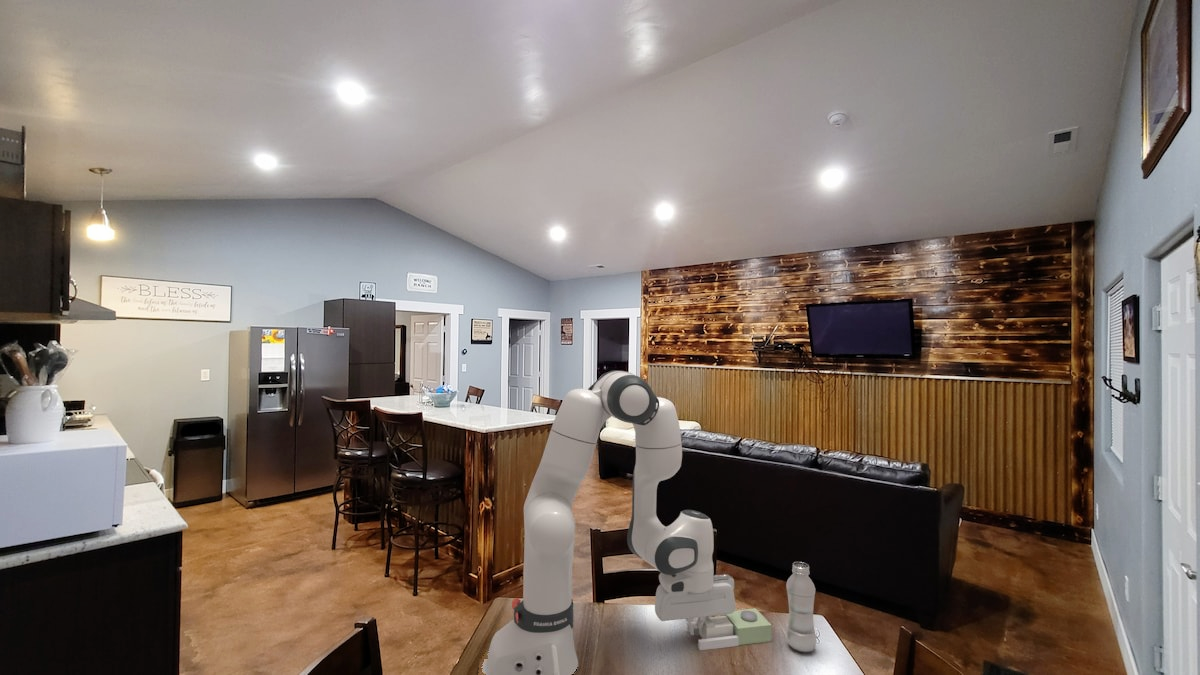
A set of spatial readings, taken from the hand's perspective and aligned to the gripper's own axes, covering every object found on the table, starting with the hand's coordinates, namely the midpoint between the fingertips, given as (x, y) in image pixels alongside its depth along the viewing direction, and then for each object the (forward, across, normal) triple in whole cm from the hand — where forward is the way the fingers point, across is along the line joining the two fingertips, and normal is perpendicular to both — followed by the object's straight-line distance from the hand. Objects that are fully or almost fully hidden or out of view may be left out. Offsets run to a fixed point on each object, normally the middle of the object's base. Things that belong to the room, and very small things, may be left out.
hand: (695, 633), depth 123 cm
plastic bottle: (+2, -24, +8) cm, 25 cm away
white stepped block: (+2, -6, 0) cm, 6 cm away
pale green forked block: (+2, -9, 0) cm, 9 cm away
